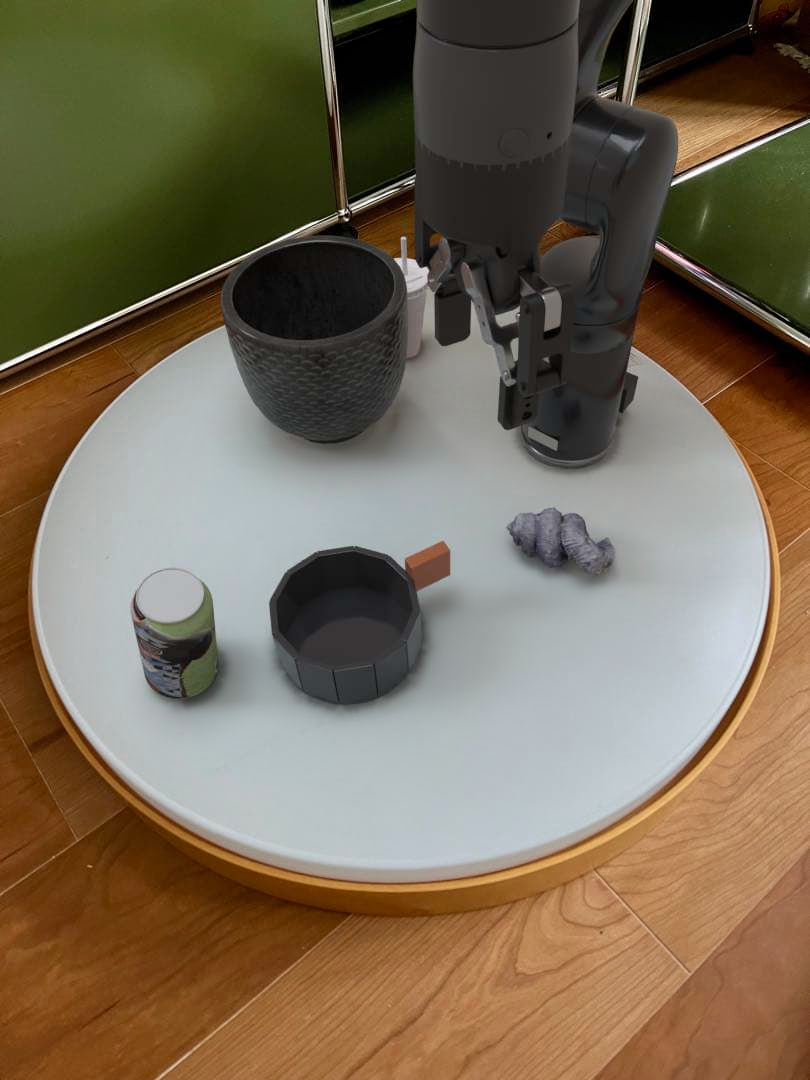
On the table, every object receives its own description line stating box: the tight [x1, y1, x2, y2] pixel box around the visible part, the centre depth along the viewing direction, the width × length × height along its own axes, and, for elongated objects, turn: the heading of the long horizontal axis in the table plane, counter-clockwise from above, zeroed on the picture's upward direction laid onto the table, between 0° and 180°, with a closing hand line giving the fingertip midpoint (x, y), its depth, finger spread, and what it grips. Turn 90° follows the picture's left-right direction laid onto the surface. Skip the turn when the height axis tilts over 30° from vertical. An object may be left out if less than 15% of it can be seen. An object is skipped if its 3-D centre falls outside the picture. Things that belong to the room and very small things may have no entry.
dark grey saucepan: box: [268, 540, 451, 705], centre depth 75 cm, size 16×12×7 cm
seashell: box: [505, 506, 616, 577], centre depth 80 cm, size 5×5×10 cm
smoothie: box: [393, 236, 430, 360], centre depth 95 cm, size 6×6×14 cm
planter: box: [220, 235, 408, 445], centre depth 88 cm, size 17×17×16 cm
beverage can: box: [130, 567, 219, 700], centre depth 71 cm, size 6×7×12 cm
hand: (482, 379), depth 55 cm, fingers open, 8 cm apart
